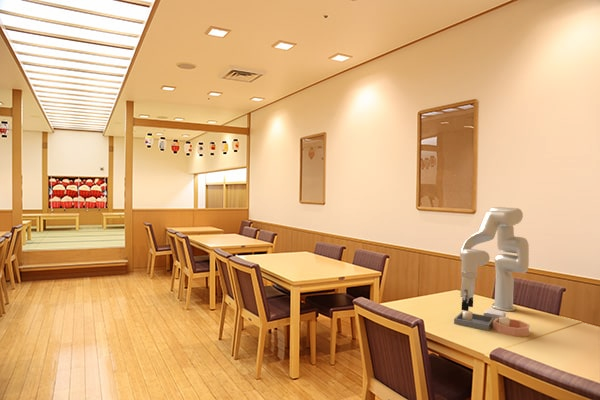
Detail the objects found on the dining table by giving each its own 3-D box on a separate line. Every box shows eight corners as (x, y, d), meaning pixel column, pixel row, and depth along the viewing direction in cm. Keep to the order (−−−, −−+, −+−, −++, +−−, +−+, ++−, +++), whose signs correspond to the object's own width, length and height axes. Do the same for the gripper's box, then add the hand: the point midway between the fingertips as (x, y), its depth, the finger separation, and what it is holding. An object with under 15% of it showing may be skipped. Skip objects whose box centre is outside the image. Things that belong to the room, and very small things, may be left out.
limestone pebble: (499, 325, 200) (500, 315, 199) (509, 328, 197) (510, 317, 197) (497, 328, 196) (498, 318, 196) (508, 330, 193) (508, 320, 193)
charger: (507, 317, 217) (503, 325, 204) (488, 314, 222) (483, 321, 209) (507, 309, 217) (503, 315, 204) (488, 305, 222) (483, 312, 209)
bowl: (496, 323, 205) (496, 316, 205) (530, 330, 196) (530, 322, 196) (490, 331, 193) (491, 323, 193) (526, 339, 184) (527, 330, 184)
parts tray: (461, 316, 215) (462, 311, 215) (494, 323, 206) (494, 317, 206) (453, 324, 202) (454, 318, 202) (488, 331, 193) (488, 325, 193)
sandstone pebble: (463, 319, 209) (464, 310, 209) (473, 321, 207) (473, 311, 207) (461, 321, 206) (461, 312, 206) (470, 323, 203) (471, 313, 203)
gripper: (465, 271, 215) (463, 303, 215) (456, 276, 201) (455, 310, 201) (480, 274, 210) (478, 306, 211) (472, 278, 196) (471, 313, 196)
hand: (467, 308), depth 206 cm, fingers open, 9 cm apart
